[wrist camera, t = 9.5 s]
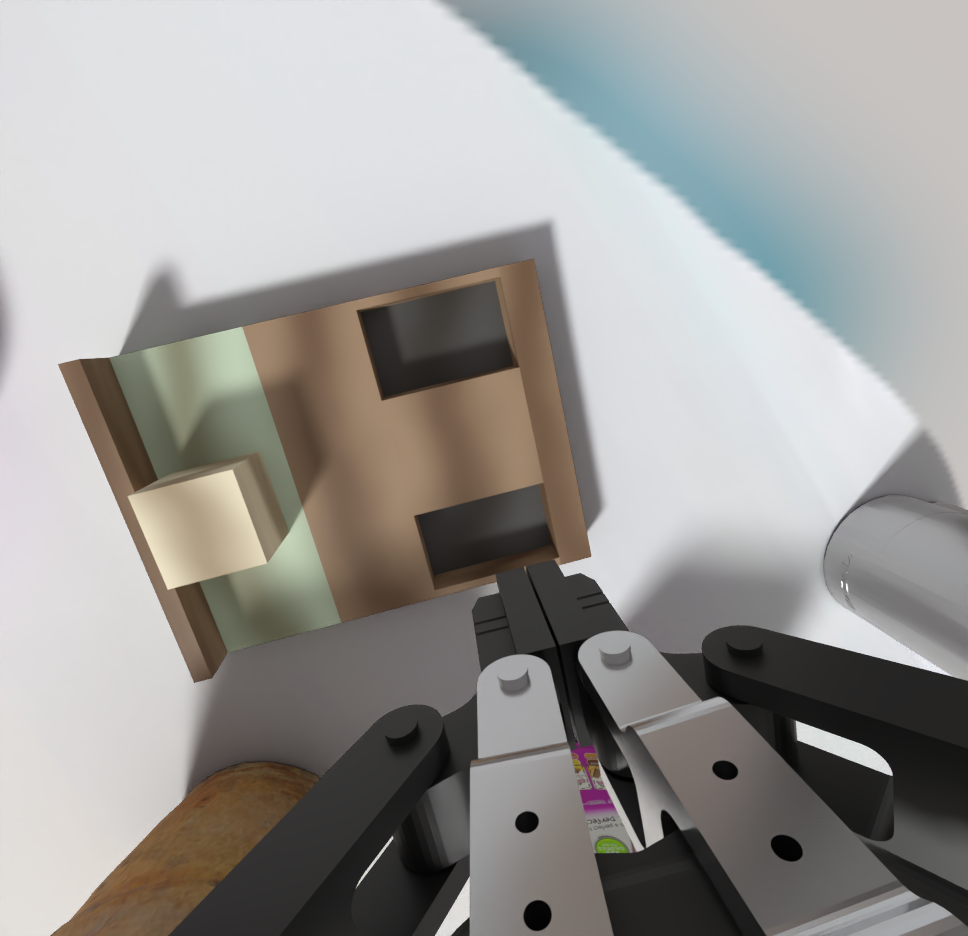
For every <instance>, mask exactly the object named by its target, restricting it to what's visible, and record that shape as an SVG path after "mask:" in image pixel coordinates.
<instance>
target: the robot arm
mask: <svg viewBox="0 0 968 936" xmlns="http://www.w3.org/2000/svg"><path fill="white" fill-rule="evenodd" d="M526 573H527V574H526ZM495 575H496V580H497V585H498V589H499V593H497V594H493V595H489V596H485V597H481V598H479V599H478V600H477V602H476V604H475V606H474V608H473V610H472V615H473V621H474V628H475V634H476V641H477V648H478V654H479V661H480V667H481V674H480V676H479V678H478V681H477V693H476V694H475V695H474V697H473V698H472V699H471V700H470V701H469V702H468V703H466V704H465V705H464V706H462V707H461V708H459V709H457V710H456V711H454V712H452V713H450V714H448V715H446V716H444V717H441V715H440V713H439V712H438V711H437V710H435V709H434V708H432V707H429V706H426V705H409V706H404V707H401V708H398V709H396V710H393V711H391V712H389V713H388V714H386V715H384V716H383V717H382V718H380V719H379V720H378V721H377V722H376V723H374V724H373V725H372V727H371V728H370V729H369V730H368V731H367V732H366V733H365V734H364V735H363V736H362V737H361V738H360V739H359V740H358V741H357V742H356V743H355V744H354V745H353V746H352V747H351V748H350V749H349V750H348V751H347V752H346V753H345V754H344V755H343V756H342V757H341V758H340V759H339V760H338V761H337V762H336V764H335V765H334V766H333V767H332V768H331V769H330V770H329V771H328V772H327V773H326V774H325V775H324V776H323V777H322V778H321V779H320V780H319V781H318V782H317V783H316V784H315V785H314V786H313V787H312V788H311V789H310V790H309V791H308V792H307V793H306V794H305V795H304V796H303V797H302V798H301V799H300V800H299V802H298V803H297V804H296V805H295V806H294V807H293V808H292V809H291V810H290V811H289V812H288V813H287V814H286V815H285V816H284V817H283V818H282V819H281V820H280V821H279V822H278V823H277V824H276V825H275V826H274V827H273V828H272V829H271V830H270V831H269V832H268V833H267V834H266V835H265V836H264V837H263V839H262V840H261V841H260V842H259V843H258V844H257V845H256V846H255V847H254V848H253V849H252V850H251V851H250V852H249V853H248V854H247V855H246V856H245V857H244V858H243V859H242V860H241V861H240V862H239V863H238V864H237V865H236V866H235V867H234V868H233V869H232V870H231V871H230V872H229V873H228V874H227V876H226V877H225V878H224V879H223V880H222V881H221V882H220V883H219V884H218V885H217V886H216V887H215V888H214V889H213V890H212V891H211V892H210V893H209V894H208V895H207V896H206V897H205V898H204V899H203V900H202V901H201V902H200V903H199V904H198V905H197V906H196V907H195V908H194V909H193V910H192V911H191V913H190V914H189V915H188V916H187V917H186V918H185V919H184V920H183V921H182V922H181V923H180V924H179V925H178V926H177V927H176V928H175V929H174V930H173V931H172V932H171V933H170V934H169V935H168V936H435V934H436V933H437V931H438V929H439V928H440V926H441V924H442V922H443V921H444V919H445V917H446V916H447V914H448V912H449V910H450V909H451V907H452V905H453V904H454V902H455V900H456V899H457V897H458V895H459V893H460V892H461V890H462V888H463V887H464V885H465V883H466V881H467V880H468V878H469V876H470V917H469V918H468V919H467V920H466V921H465V922H464V923H463V924H462V925H461V926H460V927H459V928H457V929H456V931H455V932H454V933H453V934H452V935H451V936H968V510H965V509H962V508H959V507H956V506H952V505H949V504H946V503H943V502H934V503H929V502H925V501H922V500H919V499H916V498H913V497H908V496H903V495H888V496H884V497H880V498H876V499H874V500H871V501H869V502H867V503H865V504H863V505H861V506H860V507H859V508H857V509H856V510H854V511H853V512H852V513H851V514H850V515H849V516H848V517H847V518H846V519H845V520H844V521H843V522H842V523H841V524H840V525H839V527H838V528H837V530H836V531H835V533H834V534H833V536H832V538H831V540H830V543H829V545H828V547H827V551H826V555H825V559H824V576H825V581H826V585H827V587H828V589H829V591H830V593H831V595H832V596H833V597H834V598H835V600H836V601H837V602H838V603H839V604H841V605H842V606H844V607H845V608H846V609H848V610H850V611H851V612H853V613H854V614H856V615H857V616H859V617H861V618H862V619H864V620H865V621H867V622H869V623H870V624H872V625H873V626H875V627H876V628H878V629H880V630H881V631H883V632H884V633H886V634H887V635H889V636H890V637H892V638H893V639H895V640H896V641H898V642H900V643H901V644H903V645H904V646H906V647H908V648H909V649H911V650H912V651H914V652H915V653H917V654H919V655H920V656H922V657H923V658H925V659H926V660H928V661H930V662H931V663H933V664H934V665H936V666H938V667H939V668H941V669H942V670H944V671H945V672H947V673H949V674H950V675H952V676H953V677H951V676H947V675H943V674H940V673H936V672H932V671H928V670H924V669H920V668H916V667H912V666H908V665H904V664H900V663H896V662H892V661H888V660H884V659H880V658H876V657H872V656H869V655H865V654H861V653H857V652H853V651H849V650H845V649H841V648H837V647H833V646H829V645H825V644H821V643H817V642H813V641H809V640H805V639H801V638H798V637H794V636H790V635H786V634H782V633H778V632H774V631H770V630H766V629H762V628H758V627H753V626H729V627H724V628H720V629H717V630H715V631H713V632H711V633H710V634H708V635H707V636H706V637H705V639H704V640H703V643H702V653H696V654H669V653H662V652H659V651H658V650H657V649H656V648H655V647H654V646H653V645H652V644H651V642H650V641H649V640H647V639H646V638H645V637H643V636H641V635H639V634H637V633H633V632H629V630H628V629H627V627H626V626H625V624H624V623H623V621H622V620H621V618H620V617H619V615H618V614H617V612H616V611H615V609H614V608H613V606H612V605H611V603H609V600H608V599H607V597H606V596H605V594H603V592H602V590H601V589H600V587H599V586H598V584H597V583H596V581H595V580H593V579H591V578H589V577H587V576H585V575H583V574H581V573H579V574H575V575H571V576H567V577H564V575H563V573H562V572H561V570H560V568H559V566H558V564H557V563H556V561H555V559H552V560H548V561H544V562H540V563H536V564H532V565H528V566H526V571H525V569H524V567H520V568H515V569H511V570H507V571H503V572H499V573H495ZM796 721H799V722H801V723H804V724H807V725H810V726H813V727H815V728H818V729H821V730H824V731H827V732H829V733H832V734H835V735H838V736H841V737H843V738H846V739H849V740H852V741H855V742H857V743H860V744H863V745H865V746H867V747H869V748H871V749H873V750H874V751H876V752H877V753H878V754H879V755H881V756H882V757H883V758H884V759H885V760H886V762H887V763H888V764H889V766H890V768H891V770H892V773H893V776H890V775H887V774H884V773H882V772H879V771H876V770H874V769H871V768H868V767H866V766H863V765H861V764H858V763H855V762H853V761H850V760H847V759H845V758H842V757H840V756H837V755H834V754H832V753H829V752H826V751H824V750H821V749H819V748H816V747H813V746H811V745H808V744H806V743H803V742H800V741H798V740H797V732H796ZM573 730H574V732H573ZM574 733H575V735H576V738H577V741H578V743H579V746H580V748H583V747H587V746H591V745H593V746H594V749H595V751H596V754H597V757H598V763H599V768H600V773H601V778H602V781H603V783H604V785H605V787H606V789H607V791H608V794H609V796H610V798H611V800H612V802H613V804H614V806H615V808H616V810H617V812H618V814H619V816H620V818H621V820H622V822H623V824H624V826H625V828H626V830H627V832H628V834H629V836H630V839H631V841H632V843H633V845H634V847H635V849H636V851H637V852H633V853H594V850H593V846H592V841H591V837H590V833H589V829H588V824H587V820H586V816H585V811H584V807H583V803H582V799H581V794H580V790H579V786H578V782H577V777H576V773H575V767H574V762H573V757H572V753H571V751H572V750H576V749H577V747H576V742H575V737H574ZM392 835H393V838H394V839H393V840H392V841H391V843H390V844H389V845H388V847H387V848H386V849H385V851H384V852H383V853H382V855H381V856H380V857H379V859H378V860H377V861H376V863H375V864H374V865H373V867H372V868H371V869H370V871H369V872H368V873H367V875H366V876H365V877H364V879H363V880H362V881H361V883H360V884H359V885H358V887H357V888H356V886H357V884H358V882H359V880H360V878H361V877H362V875H363V874H364V872H365V871H366V870H367V868H368V867H369V866H370V864H371V863H372V862H373V860H374V859H375V858H376V856H377V855H378V854H379V853H380V851H381V850H382V849H383V847H384V846H385V845H386V843H387V842H388V841H389V839H390V838H391V837H392Z"/></svg>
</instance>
